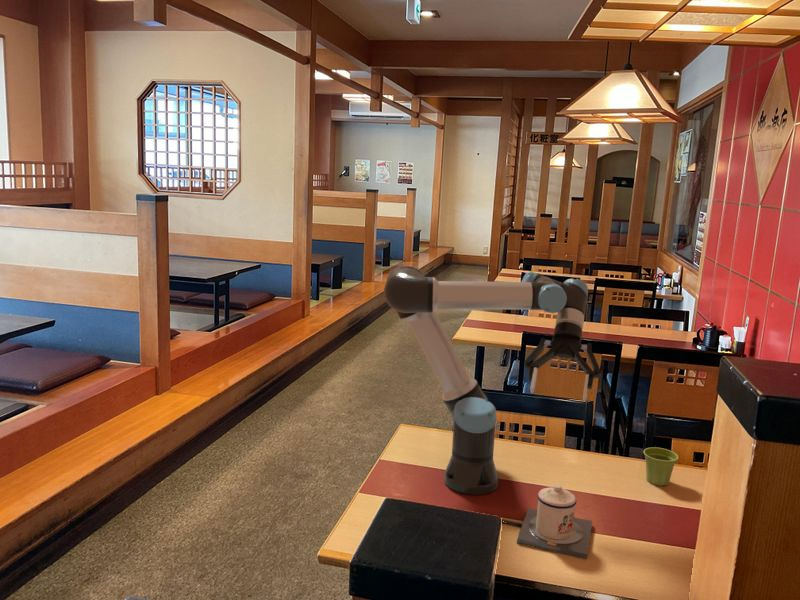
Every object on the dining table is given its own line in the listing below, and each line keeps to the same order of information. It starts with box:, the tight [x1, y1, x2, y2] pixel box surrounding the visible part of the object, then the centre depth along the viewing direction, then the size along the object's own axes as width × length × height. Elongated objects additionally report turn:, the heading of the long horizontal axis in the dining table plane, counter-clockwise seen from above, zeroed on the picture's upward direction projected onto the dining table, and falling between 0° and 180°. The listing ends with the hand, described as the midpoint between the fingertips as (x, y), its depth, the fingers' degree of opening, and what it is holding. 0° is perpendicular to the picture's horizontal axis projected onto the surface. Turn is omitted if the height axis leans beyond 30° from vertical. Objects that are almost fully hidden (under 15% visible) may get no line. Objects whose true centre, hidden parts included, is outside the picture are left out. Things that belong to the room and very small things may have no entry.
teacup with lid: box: [536, 484, 577, 540], centre depth 155 cm, size 12×9×12 cm
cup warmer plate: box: [501, 507, 593, 560], centre depth 157 cm, size 23×16×2 cm
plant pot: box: [642, 446, 679, 487], centre depth 186 cm, size 9×9×9 cm
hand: (557, 394), depth 169 cm, fingers open, 13 cm apart
